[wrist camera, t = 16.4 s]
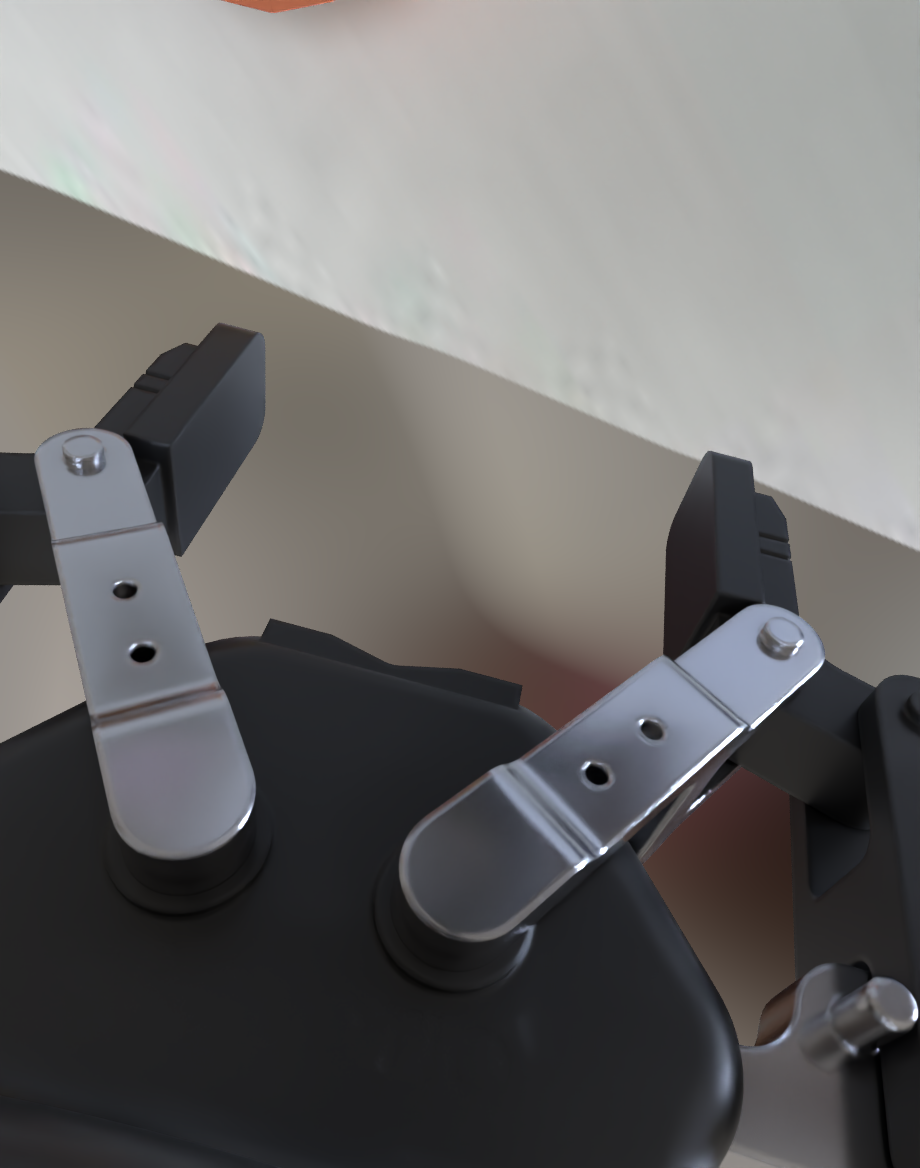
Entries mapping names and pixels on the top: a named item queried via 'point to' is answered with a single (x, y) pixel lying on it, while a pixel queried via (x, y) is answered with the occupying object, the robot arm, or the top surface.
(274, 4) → the bowl
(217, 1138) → the robot arm
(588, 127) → the top surface
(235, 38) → the top surface
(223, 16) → the top surface
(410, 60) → the top surface
